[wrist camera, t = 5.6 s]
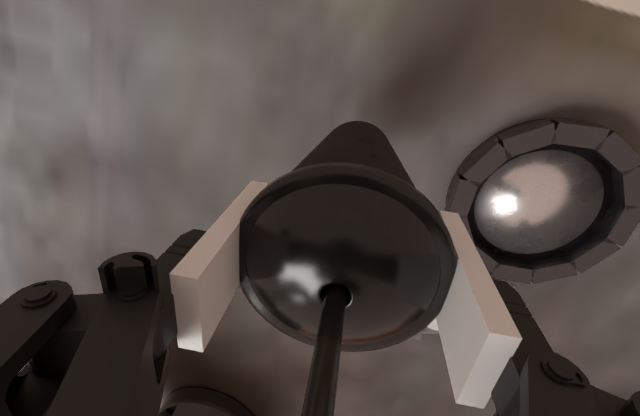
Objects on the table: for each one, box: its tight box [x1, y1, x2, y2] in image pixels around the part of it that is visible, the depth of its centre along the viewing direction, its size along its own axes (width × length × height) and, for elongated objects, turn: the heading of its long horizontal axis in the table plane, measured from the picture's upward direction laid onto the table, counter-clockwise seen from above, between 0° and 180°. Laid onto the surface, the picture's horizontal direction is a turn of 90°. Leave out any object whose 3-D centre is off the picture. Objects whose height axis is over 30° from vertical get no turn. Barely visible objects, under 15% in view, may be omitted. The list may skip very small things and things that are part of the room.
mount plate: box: [445, 118, 640, 284], centre depth 27 cm, size 14×14×2 cm
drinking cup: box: [239, 121, 456, 416], centre depth 15 cm, size 8×8×20 cm
